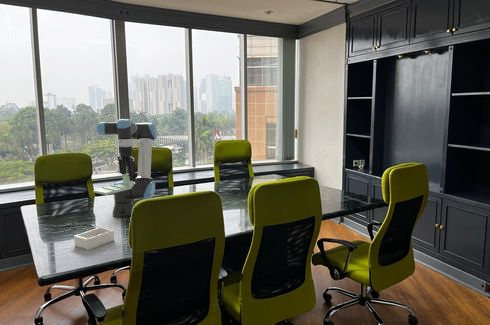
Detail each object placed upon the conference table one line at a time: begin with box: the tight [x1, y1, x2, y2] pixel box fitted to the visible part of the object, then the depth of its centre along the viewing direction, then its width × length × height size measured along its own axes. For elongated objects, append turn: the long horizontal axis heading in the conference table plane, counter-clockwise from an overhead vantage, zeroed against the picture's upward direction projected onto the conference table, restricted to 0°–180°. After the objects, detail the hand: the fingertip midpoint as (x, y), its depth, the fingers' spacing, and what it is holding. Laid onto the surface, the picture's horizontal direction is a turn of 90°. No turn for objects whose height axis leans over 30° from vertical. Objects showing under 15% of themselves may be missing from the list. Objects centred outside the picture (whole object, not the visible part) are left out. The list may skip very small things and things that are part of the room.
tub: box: [73, 226, 115, 252], centre depth 196 cm, size 11×16×6 cm
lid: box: [92, 172, 133, 196], centre depth 210 cm, size 12×21×8 cm, turn 145°
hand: (128, 185), depth 217 cm, fingers closed on lid, 4 cm apart
